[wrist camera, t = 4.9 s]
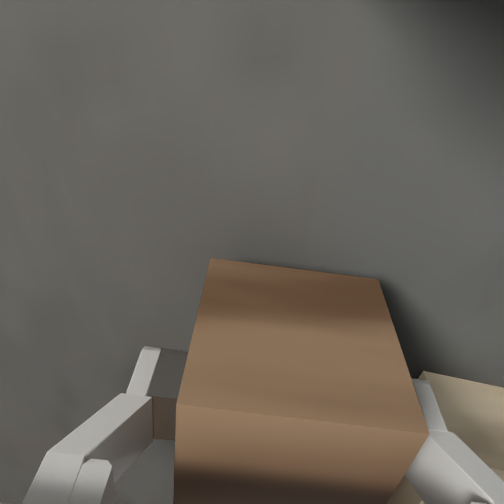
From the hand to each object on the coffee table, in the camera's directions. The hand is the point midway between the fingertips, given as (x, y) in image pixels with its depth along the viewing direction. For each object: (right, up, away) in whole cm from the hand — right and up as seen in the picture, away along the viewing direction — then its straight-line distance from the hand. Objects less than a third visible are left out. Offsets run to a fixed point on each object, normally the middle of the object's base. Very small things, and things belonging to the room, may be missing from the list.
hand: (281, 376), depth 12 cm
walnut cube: (0, +1, +2) cm, 2 cm away
